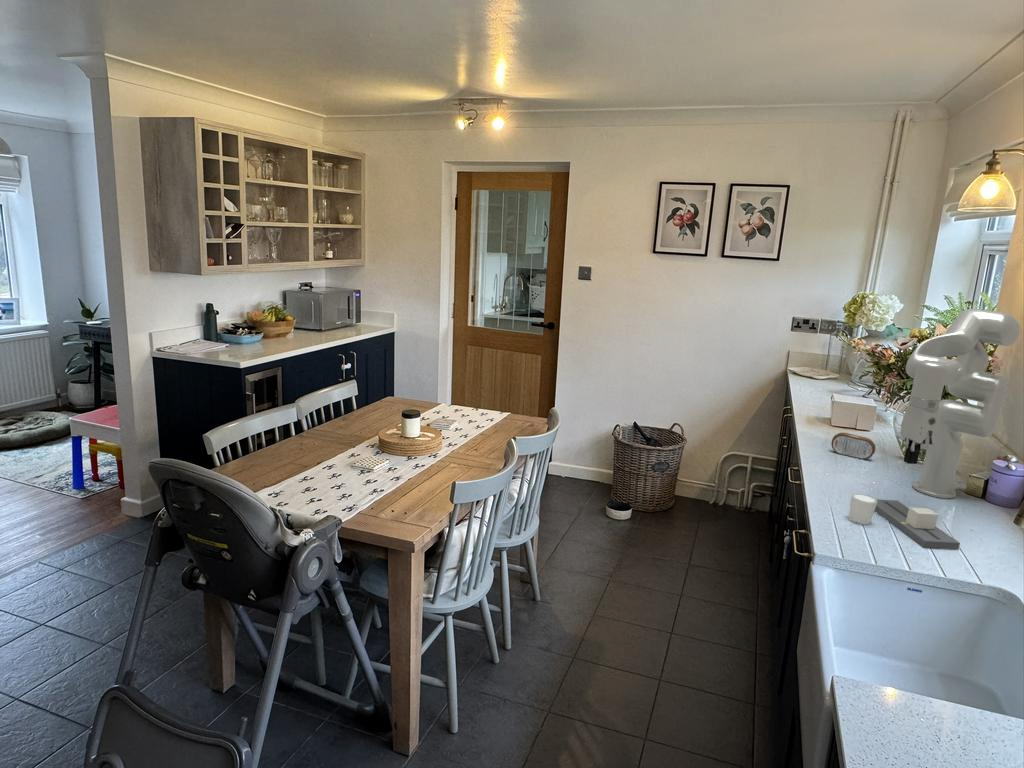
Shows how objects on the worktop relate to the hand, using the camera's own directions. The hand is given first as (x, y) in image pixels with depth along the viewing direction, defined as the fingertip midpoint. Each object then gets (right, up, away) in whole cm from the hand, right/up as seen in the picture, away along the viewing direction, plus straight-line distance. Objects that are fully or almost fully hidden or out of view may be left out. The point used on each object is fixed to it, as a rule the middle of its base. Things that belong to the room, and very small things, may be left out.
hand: (910, 462), depth 201 cm
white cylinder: (-16, -17, -1) cm, 23 cm away
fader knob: (-1, -17, -7) cm, 18 cm away
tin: (+11, -5, +58) cm, 60 cm away
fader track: (-2, -18, -2) cm, 18 cm away
